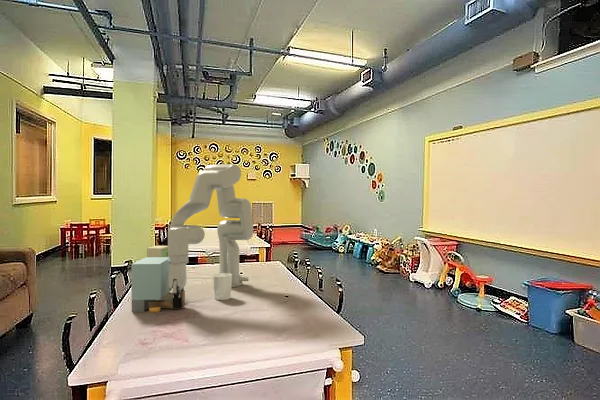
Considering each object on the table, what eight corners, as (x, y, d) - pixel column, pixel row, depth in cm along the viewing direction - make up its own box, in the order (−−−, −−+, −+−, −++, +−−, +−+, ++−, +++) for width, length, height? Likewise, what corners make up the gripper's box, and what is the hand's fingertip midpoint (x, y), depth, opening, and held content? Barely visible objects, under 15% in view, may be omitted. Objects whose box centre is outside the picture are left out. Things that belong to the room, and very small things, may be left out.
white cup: (235, 297, 172) (235, 273, 171) (224, 301, 164) (224, 277, 164) (220, 295, 175) (220, 272, 175) (209, 299, 168) (209, 275, 168)
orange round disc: (161, 309, 153) (161, 305, 153) (158, 312, 149) (158, 308, 149) (151, 309, 153) (151, 305, 153) (147, 312, 149) (147, 308, 149)
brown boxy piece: (184, 305, 156) (184, 290, 156) (182, 308, 153) (182, 292, 153) (151, 306, 156) (151, 291, 155) (148, 309, 152) (148, 293, 152)
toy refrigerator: (162, 296, 172) (161, 248, 172) (146, 295, 174) (146, 247, 173) (171, 292, 180) (171, 245, 180) (156, 291, 182) (156, 245, 181)
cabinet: (171, 300, 166) (171, 257, 166) (160, 311, 150) (160, 263, 150) (145, 300, 166) (145, 257, 166) (131, 311, 150) (131, 264, 150)
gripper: (174, 255, 162) (174, 300, 162) (162, 263, 146) (162, 313, 146) (192, 255, 163) (192, 300, 163) (183, 262, 146) (183, 312, 146)
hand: (178, 305), depth 154 cm, fingers closed on brown boxy piece, 3 cm apart
